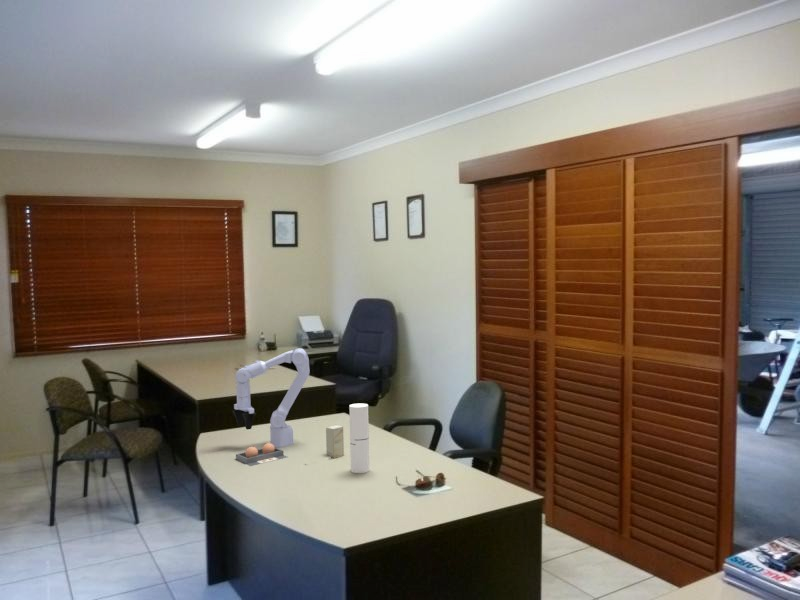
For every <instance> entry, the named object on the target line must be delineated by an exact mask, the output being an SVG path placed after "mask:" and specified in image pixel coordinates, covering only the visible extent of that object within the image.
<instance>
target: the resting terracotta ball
mask: <svg viewBox="0 0 800 600" xmlns="http://www.w3.org/2000/svg"><path fill="white" fill-rule="evenodd" d="M261 449H262V451H263V453H264V454H268V453H272V452H274V451H275V447H274V445H273V444H271V442H267V443H265V444H264V445H263V446H262V448H261Z"/></svg>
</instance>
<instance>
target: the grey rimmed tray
mask: <svg viewBox="0 0 800 600" xmlns="http://www.w3.org/2000/svg"><path fill="white" fill-rule="evenodd" d="M256 449H257V450H258V455H257V456H255V457H250V458H247V457H246V455H245V452H246V451H244V452H240V453H239V452H238V453H236V454H235V460H236V461H238V462H241V463H243V464H245V465H247V466H249V467H253V466H258V465H263V464H265V463H270V462H274V461H278V460H283V459H285V458H288V456H287V455H284V454H285V453H284V450H282V449H281V448H279V447H275V451H274V452H272V453H268V454H264V453H263V451H262V448H256Z"/></svg>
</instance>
